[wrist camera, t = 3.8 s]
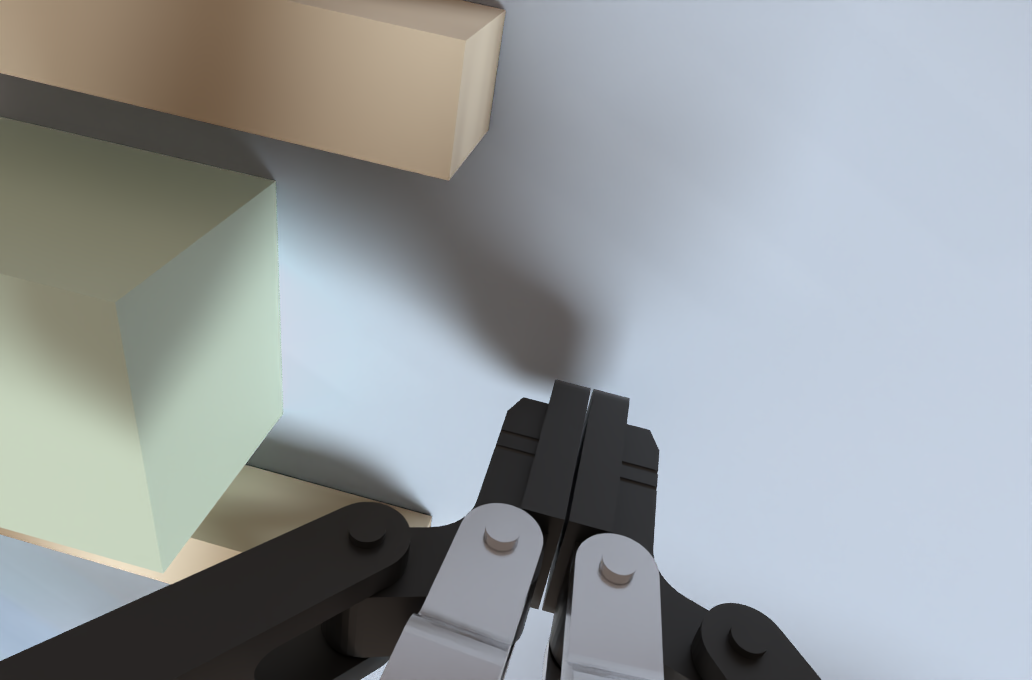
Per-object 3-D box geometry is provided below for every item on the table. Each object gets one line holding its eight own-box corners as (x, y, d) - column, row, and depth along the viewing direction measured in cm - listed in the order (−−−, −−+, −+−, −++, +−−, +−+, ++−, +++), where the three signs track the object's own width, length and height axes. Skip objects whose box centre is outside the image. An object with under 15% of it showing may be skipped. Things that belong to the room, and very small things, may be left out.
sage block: (278, 178, 15) (114, 302, 11) (285, 411, 18) (163, 573, 14) (1, 114, 15) (-259, 208, 11) (57, 351, 18) (-126, 491, 14)
